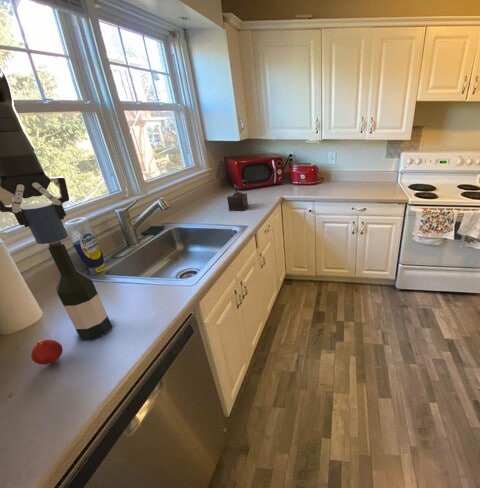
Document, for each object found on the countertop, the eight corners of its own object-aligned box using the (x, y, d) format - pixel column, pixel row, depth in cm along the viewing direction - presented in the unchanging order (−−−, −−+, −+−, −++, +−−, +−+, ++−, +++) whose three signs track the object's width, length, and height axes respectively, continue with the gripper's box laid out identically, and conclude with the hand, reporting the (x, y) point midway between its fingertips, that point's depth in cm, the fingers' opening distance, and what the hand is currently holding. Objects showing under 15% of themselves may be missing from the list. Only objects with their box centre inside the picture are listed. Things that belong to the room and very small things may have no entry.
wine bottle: (74, 344, 81) (25, 251, 68) (83, 325, 87) (40, 238, 74) (109, 335, 84) (68, 245, 71) (115, 318, 90) (79, 233, 78)
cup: (31, 245, 69) (13, 210, 65) (44, 236, 74) (28, 203, 70) (61, 241, 70) (45, 207, 66) (72, 233, 75) (58, 200, 72)
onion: (44, 357, 76) (31, 335, 73) (70, 351, 78) (58, 329, 75) (34, 374, 71) (19, 351, 68) (62, 367, 73) (49, 344, 70)
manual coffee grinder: (244, 211, 187) (241, 184, 179) (228, 210, 187) (224, 184, 179) (251, 204, 201) (248, 178, 193) (236, 203, 201) (233, 178, 193)
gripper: (51, 148, 70) (77, 212, 77) (-37, 154, 60) (2, 227, 67) (57, 150, 65) (84, 218, 73) (-38, 158, 56) (4, 235, 63)
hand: (44, 222), depth 70 cm, fingers closed on cup, 6 cm apart
